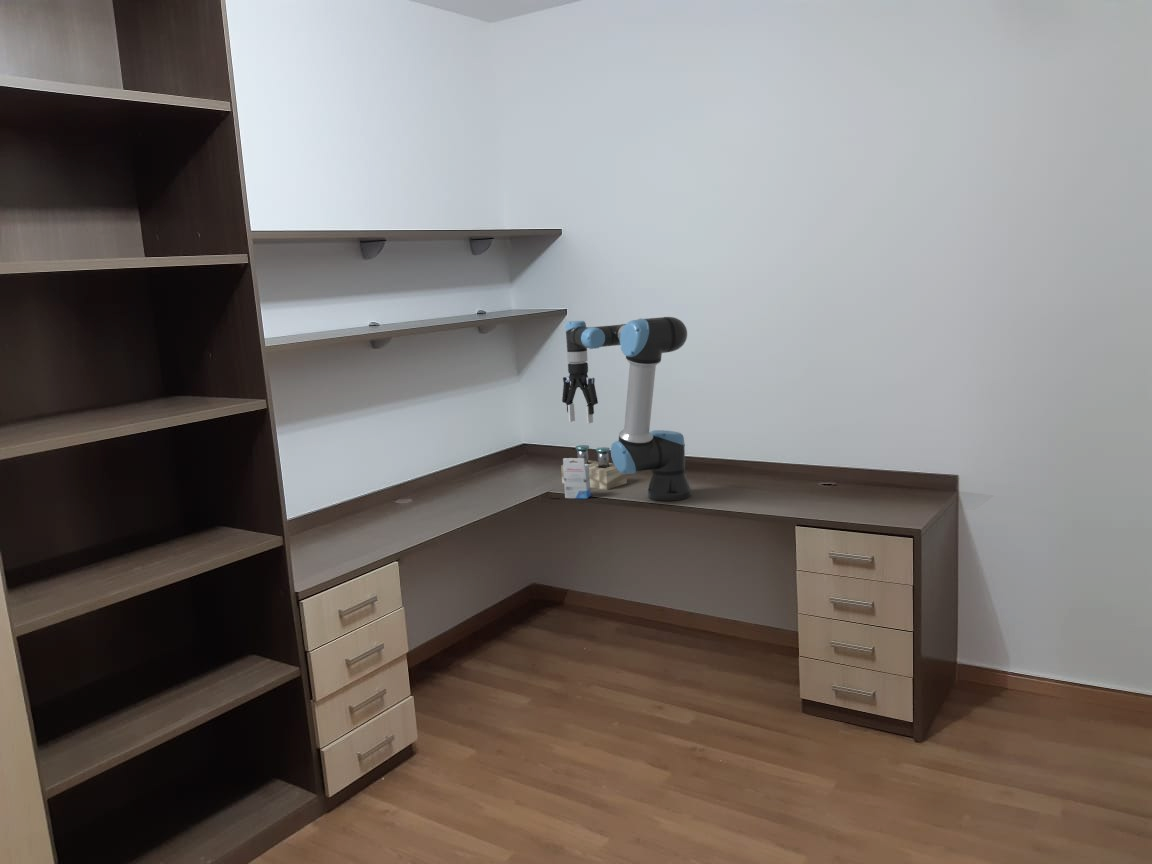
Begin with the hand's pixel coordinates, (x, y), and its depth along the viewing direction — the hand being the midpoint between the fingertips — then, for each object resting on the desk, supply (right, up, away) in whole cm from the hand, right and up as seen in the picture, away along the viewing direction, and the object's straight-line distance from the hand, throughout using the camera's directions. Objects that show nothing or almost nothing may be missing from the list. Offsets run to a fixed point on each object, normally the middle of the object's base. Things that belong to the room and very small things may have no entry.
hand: (580, 421), depth 344 cm
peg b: (+9, -18, -3) cm, 20 cm away
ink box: (-1, -27, -18) cm, 33 cm away
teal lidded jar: (+1, -17, +3) cm, 17 cm away
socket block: (+5, -23, +1) cm, 24 cm away
